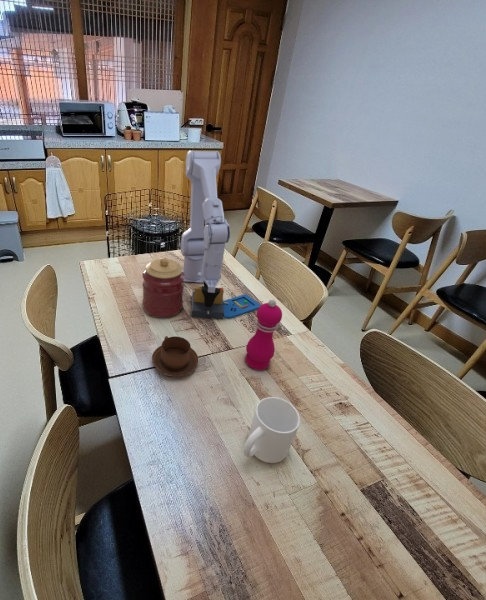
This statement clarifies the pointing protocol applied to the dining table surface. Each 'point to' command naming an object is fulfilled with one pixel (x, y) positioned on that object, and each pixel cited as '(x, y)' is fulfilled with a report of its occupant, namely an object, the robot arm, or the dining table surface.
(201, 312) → the frame stand
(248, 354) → the pepper mill
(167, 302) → the kitchen canister
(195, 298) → the tan rectangular block
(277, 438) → the mug
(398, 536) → the dining table surface
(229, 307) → the handheld gaming device
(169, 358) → the cup and saucer
